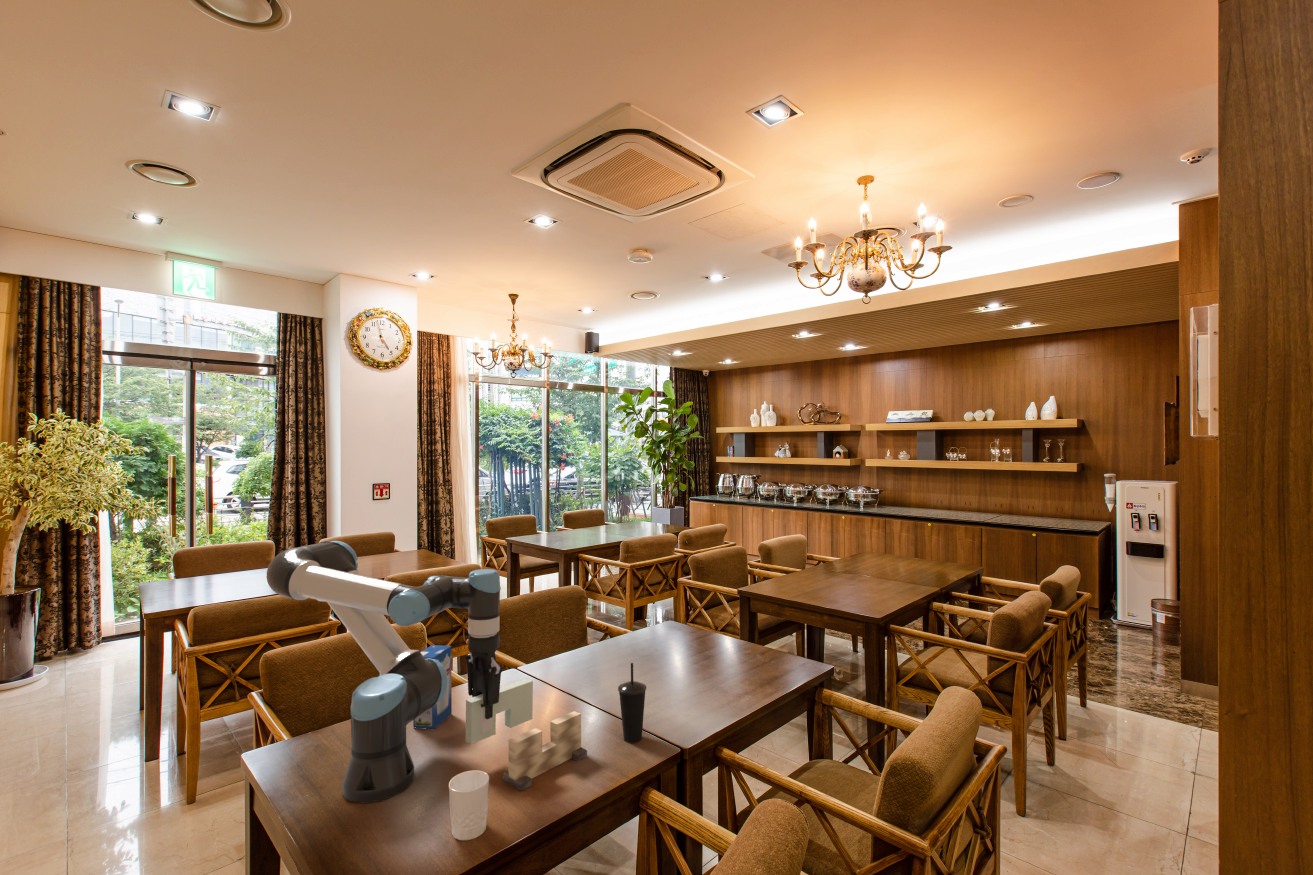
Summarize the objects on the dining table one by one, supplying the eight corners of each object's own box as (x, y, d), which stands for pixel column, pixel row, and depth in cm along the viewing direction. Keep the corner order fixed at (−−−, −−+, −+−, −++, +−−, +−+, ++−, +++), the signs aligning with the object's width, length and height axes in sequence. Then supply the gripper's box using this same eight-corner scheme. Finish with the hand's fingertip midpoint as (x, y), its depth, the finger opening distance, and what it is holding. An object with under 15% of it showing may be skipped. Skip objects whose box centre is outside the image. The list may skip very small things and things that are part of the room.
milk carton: (433, 729, 163) (433, 657, 164) (413, 728, 164) (412, 656, 165) (451, 713, 173) (451, 645, 173) (432, 712, 174) (432, 644, 174)
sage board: (470, 744, 141) (471, 702, 142) (465, 740, 143) (466, 699, 143) (532, 718, 155) (532, 680, 155) (526, 715, 157) (527, 678, 157)
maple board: (520, 790, 133) (520, 746, 134) (503, 779, 138) (502, 736, 138) (587, 755, 148) (586, 716, 148) (569, 746, 153) (568, 708, 153)
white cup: (475, 813, 125) (474, 765, 126) (497, 827, 120) (496, 778, 121) (441, 831, 119) (441, 782, 119) (463, 848, 114) (462, 796, 114)
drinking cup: (621, 747, 152) (621, 669, 153) (615, 733, 160) (615, 659, 160) (650, 743, 154) (649, 666, 155) (643, 729, 162) (642, 656, 162)
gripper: (515, 636, 143) (514, 733, 143) (480, 623, 154) (479, 713, 153) (488, 643, 138) (486, 744, 137) (453, 629, 148) (452, 723, 148)
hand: (482, 728), depth 145 cm, fingers closed on sage board, 2 cm apart
